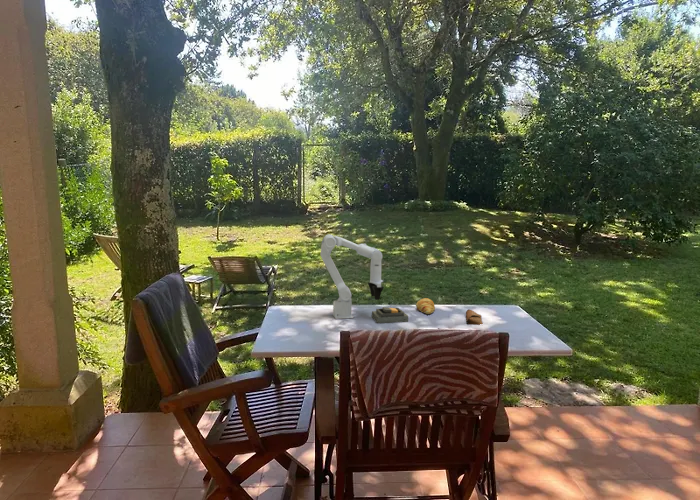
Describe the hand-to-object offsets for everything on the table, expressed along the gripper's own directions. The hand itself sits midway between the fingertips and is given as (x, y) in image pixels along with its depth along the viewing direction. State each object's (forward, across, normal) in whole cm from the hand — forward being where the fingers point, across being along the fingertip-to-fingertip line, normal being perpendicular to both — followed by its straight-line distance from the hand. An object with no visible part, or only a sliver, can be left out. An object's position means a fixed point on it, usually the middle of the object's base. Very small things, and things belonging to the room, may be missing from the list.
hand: (375, 297), depth 277 cm
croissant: (+10, +7, -30) cm, 33 cm away
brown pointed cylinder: (+11, -16, -49) cm, 52 cm away
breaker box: (+10, -7, -6) cm, 14 cm away
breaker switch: (+6, -7, -6) cm, 11 cm away
